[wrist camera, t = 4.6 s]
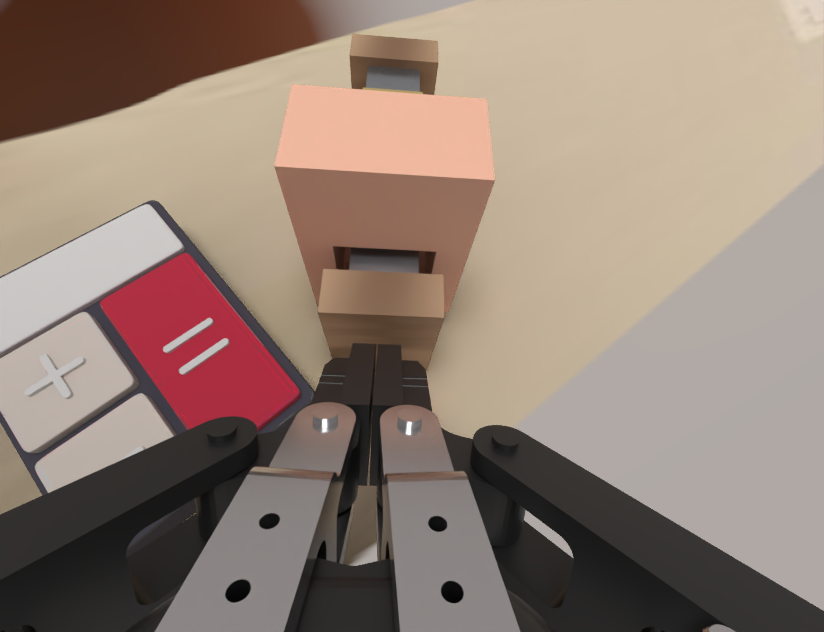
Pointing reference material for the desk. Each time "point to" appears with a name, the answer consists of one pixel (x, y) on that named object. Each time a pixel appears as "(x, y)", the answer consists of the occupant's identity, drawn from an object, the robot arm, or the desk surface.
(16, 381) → the calculator
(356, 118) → the collar
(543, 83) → the desk surface
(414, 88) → the grey metal bar
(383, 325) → the stand
